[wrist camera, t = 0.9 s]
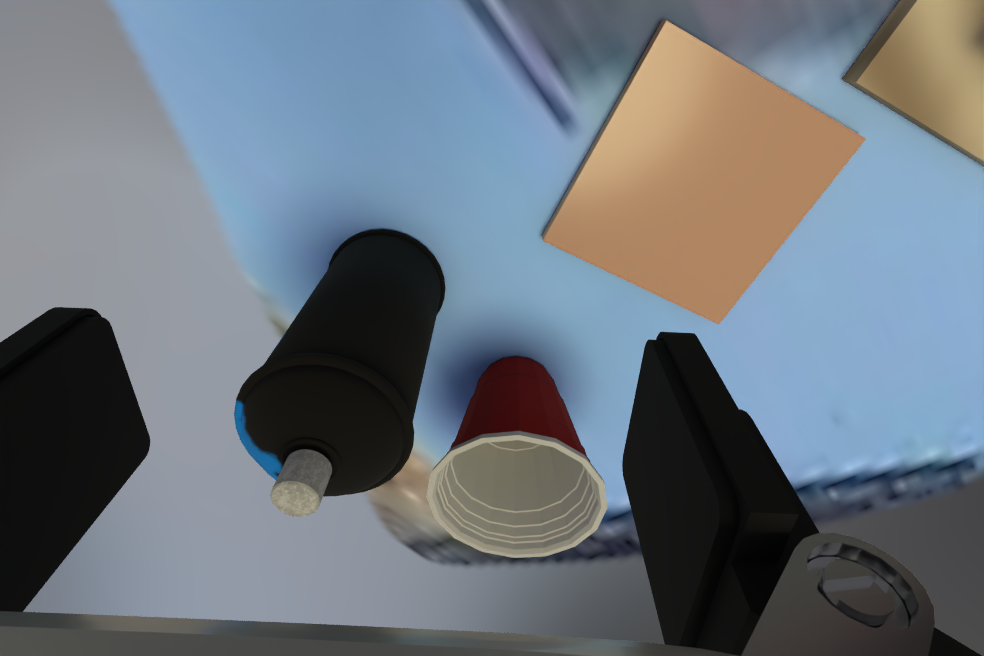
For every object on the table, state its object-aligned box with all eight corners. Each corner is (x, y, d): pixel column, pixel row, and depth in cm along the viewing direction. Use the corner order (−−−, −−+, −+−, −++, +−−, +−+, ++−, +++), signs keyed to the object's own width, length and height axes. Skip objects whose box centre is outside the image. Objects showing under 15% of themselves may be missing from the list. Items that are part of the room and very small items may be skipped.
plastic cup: (415, 386, 44) (387, 504, 34) (516, 300, 40) (519, 403, 30) (511, 462, 48) (512, 590, 37) (612, 390, 44) (645, 510, 33)
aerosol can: (416, 211, 37) (336, 392, 20) (463, 314, 41) (431, 544, 23) (306, 251, 39) (143, 452, 21) (361, 348, 42) (261, 585, 25)
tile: (662, 20, 31) (666, 20, 30) (857, 135, 34) (866, 138, 33) (541, 235, 38) (542, 240, 37) (714, 317, 40) (718, 324, 40)
